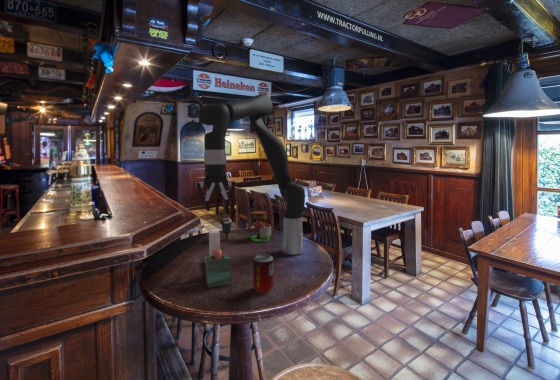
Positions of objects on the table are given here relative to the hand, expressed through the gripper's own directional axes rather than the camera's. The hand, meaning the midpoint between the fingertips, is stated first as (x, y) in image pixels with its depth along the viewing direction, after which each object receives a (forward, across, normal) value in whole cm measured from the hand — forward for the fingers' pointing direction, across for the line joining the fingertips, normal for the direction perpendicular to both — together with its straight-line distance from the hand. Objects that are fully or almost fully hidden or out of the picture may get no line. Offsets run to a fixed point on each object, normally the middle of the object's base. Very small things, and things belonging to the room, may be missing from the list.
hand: (216, 210), depth 107 cm
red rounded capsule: (+20, 0, 0) cm, 20 cm away
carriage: (+27, 0, -6) cm, 28 cm away
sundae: (+28, -14, -51) cm, 60 cm away
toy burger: (+28, -32, -46) cm, 62 cm away
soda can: (+28, -14, +11) cm, 33 cm away
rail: (+27, 0, -10) cm, 29 cm away
